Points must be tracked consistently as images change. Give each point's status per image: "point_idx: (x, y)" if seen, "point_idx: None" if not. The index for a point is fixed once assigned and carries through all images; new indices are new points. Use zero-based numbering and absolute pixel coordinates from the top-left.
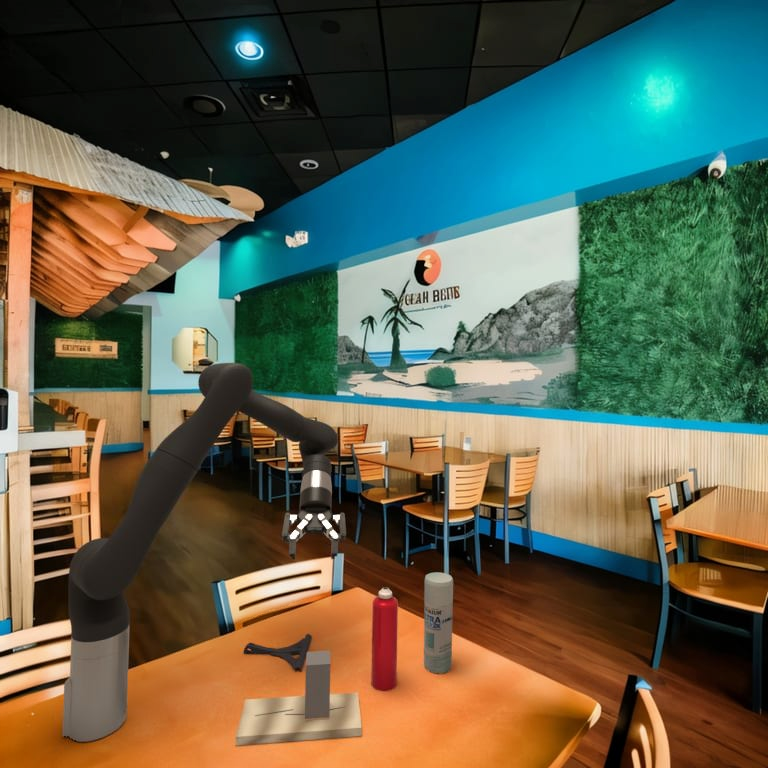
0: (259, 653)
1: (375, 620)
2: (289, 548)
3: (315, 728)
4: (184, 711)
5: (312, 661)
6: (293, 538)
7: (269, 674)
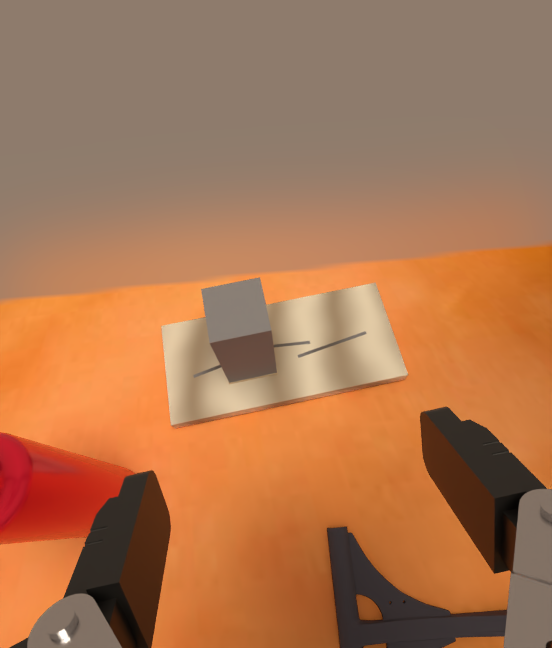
0: (484, 612)
1: (54, 453)
2: (500, 447)
3: None
4: (518, 355)
5: (246, 292)
6: (527, 494)
7: (406, 505)
